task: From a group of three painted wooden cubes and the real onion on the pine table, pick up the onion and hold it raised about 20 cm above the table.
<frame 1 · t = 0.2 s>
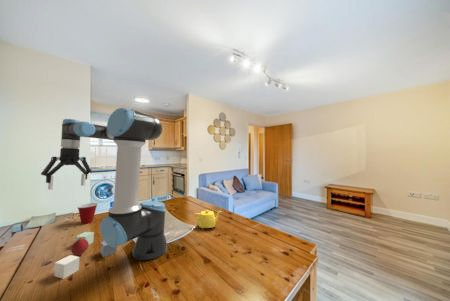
hand: (67, 187, 88), 28 cm above the table, fingers open, 13 cm apart
plastic cup: (86, 222, 109), on the table
slate cube: (108, 252, 77), on the table
onion: (79, 255, 74), on the table
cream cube: (66, 273, 63), on the table
teapot: (207, 227, 108), on the table
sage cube: (84, 244, 83), on the table
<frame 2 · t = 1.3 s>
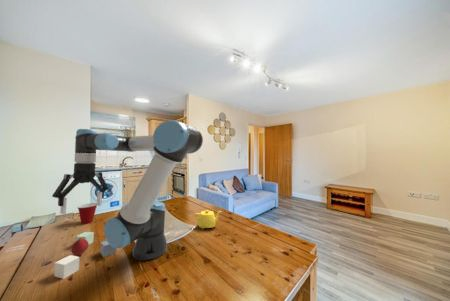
hand: (82, 209, 75), 20 cm above the table, fingers open, 13 cm apart
nothing on the table moved.
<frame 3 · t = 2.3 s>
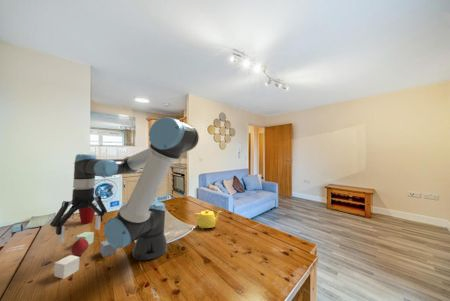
hand: (80, 234, 75), 9 cm above the table, fingers open, 13 cm apart
nothing on the table moved.
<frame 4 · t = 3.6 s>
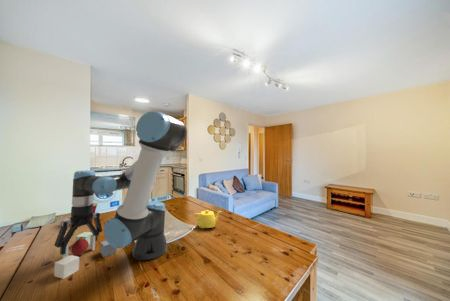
hand: (79, 254, 74), 0 cm above the table, fingers open, 9 cm apart
nothing on the table moved.
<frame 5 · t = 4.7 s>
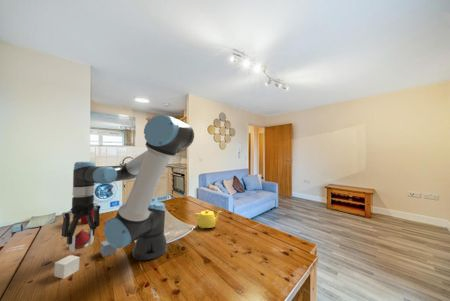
hand: (81, 247, 74), 4 cm above the table, fingers closed on onion, 6 cm apart
onion: (81, 248, 74), point 3 cm above the table, touching gripper
everything else where it was.
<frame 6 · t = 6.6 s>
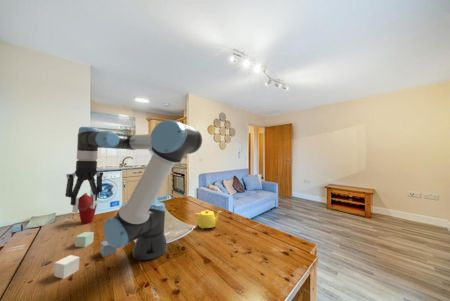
hand: (83, 209, 76), 20 cm above the table, fingers closed on onion, 6 cm apart
onion: (83, 211, 76), point 19 cm above the table, touching gripper
everything else where it was.
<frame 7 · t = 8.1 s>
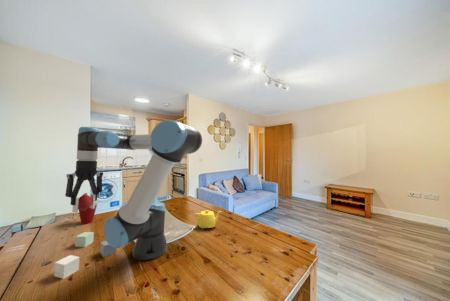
hand: (83, 209, 76), 20 cm above the table, fingers closed on onion, 6 cm apart
onion: (83, 211, 76), point 19 cm above the table, touching gripper
everything else where it was.
at the end: the gripper is holding onion; onion point 19.3 cm above the table; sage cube moved 0.1 cm from its start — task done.
